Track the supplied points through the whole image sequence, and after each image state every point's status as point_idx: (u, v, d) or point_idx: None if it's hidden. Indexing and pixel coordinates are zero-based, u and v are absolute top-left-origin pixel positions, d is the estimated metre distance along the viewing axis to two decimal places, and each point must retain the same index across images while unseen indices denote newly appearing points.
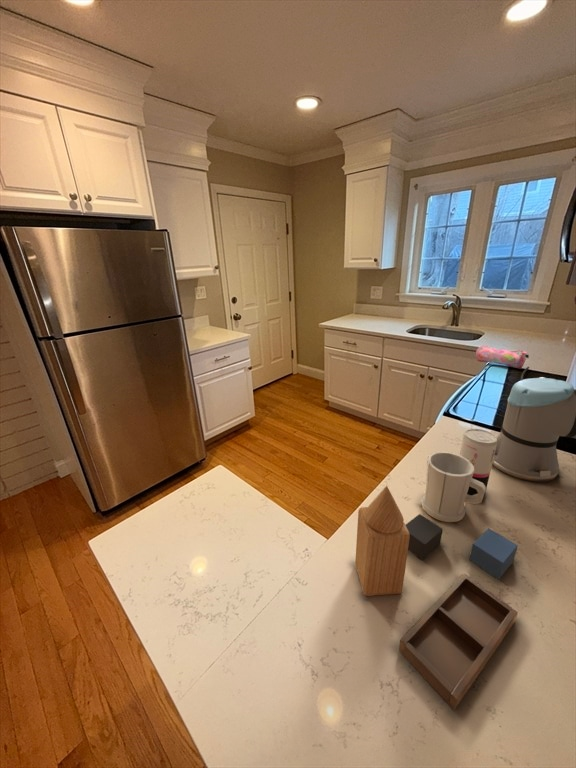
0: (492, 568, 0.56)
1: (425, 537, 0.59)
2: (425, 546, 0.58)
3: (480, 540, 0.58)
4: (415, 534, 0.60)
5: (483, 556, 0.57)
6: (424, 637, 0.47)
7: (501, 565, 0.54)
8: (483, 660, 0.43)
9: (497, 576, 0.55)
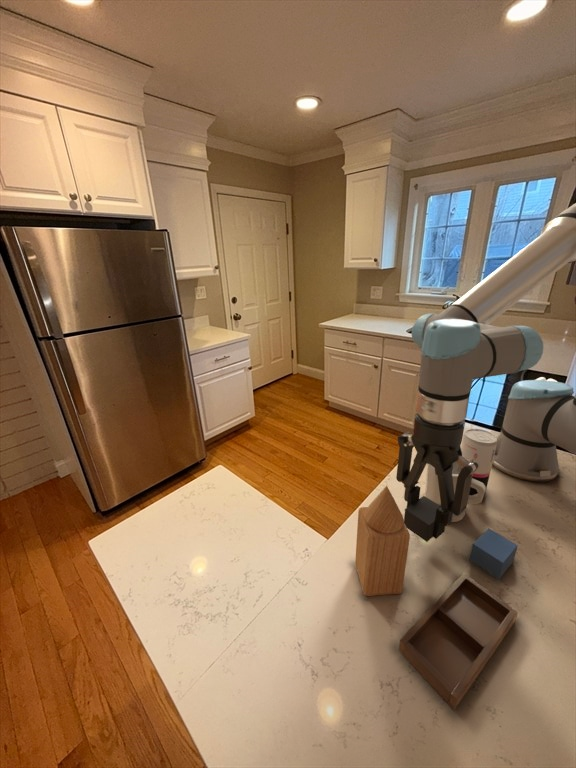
0: (492, 568, 0.56)
1: (429, 518, 0.58)
2: (429, 527, 0.56)
3: (480, 540, 0.58)
4: (419, 515, 0.58)
5: (483, 556, 0.57)
6: (424, 637, 0.47)
7: (501, 565, 0.54)
8: (483, 660, 0.43)
9: (497, 576, 0.55)
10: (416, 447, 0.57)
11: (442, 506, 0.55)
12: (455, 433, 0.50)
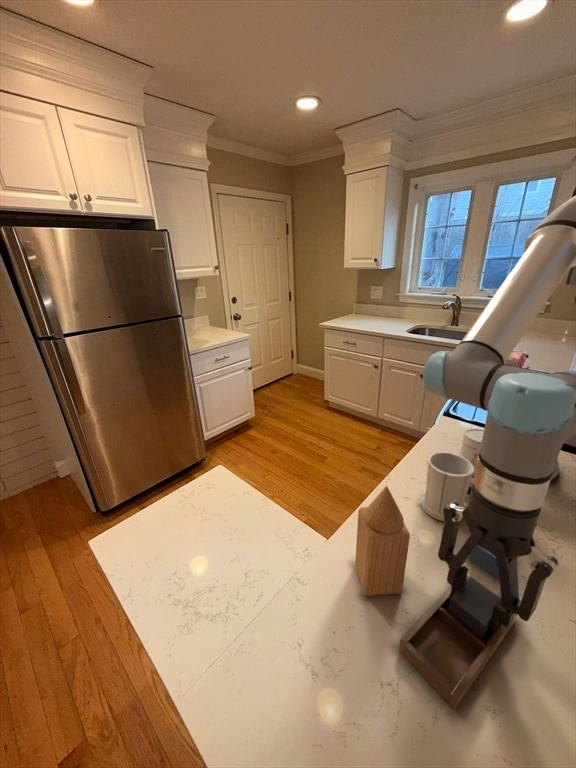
0: (492, 568, 0.56)
1: (483, 614, 0.46)
2: (484, 627, 0.45)
3: None
4: (469, 609, 0.46)
5: (483, 556, 0.57)
6: (424, 637, 0.47)
7: None
8: (483, 660, 0.43)
9: (497, 576, 0.55)
10: (469, 526, 0.45)
11: (503, 604, 0.43)
12: (531, 522, 0.38)
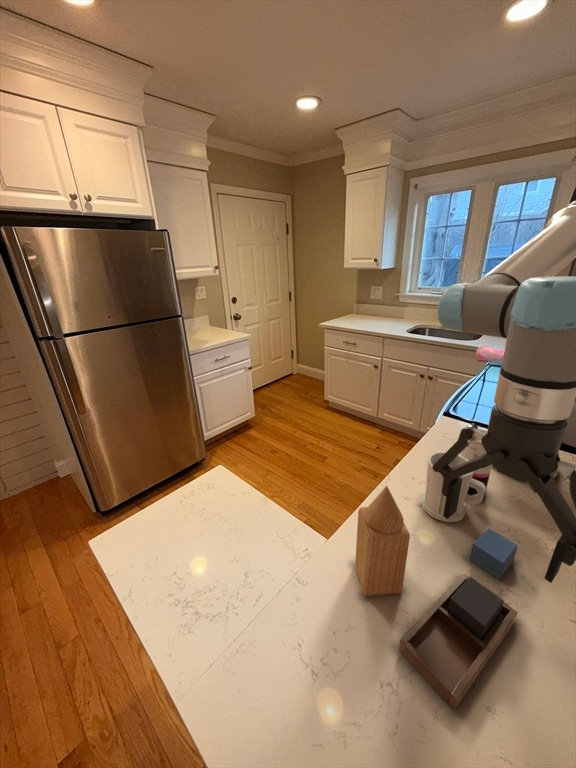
0: (492, 568, 0.56)
1: (483, 614, 0.46)
2: (484, 627, 0.45)
3: (480, 540, 0.58)
4: (469, 609, 0.46)
5: (483, 556, 0.57)
6: (424, 637, 0.47)
7: (501, 565, 0.54)
8: (483, 660, 0.43)
9: (497, 576, 0.55)
10: (489, 452, 0.43)
11: (567, 539, 0.38)
12: (558, 434, 0.36)
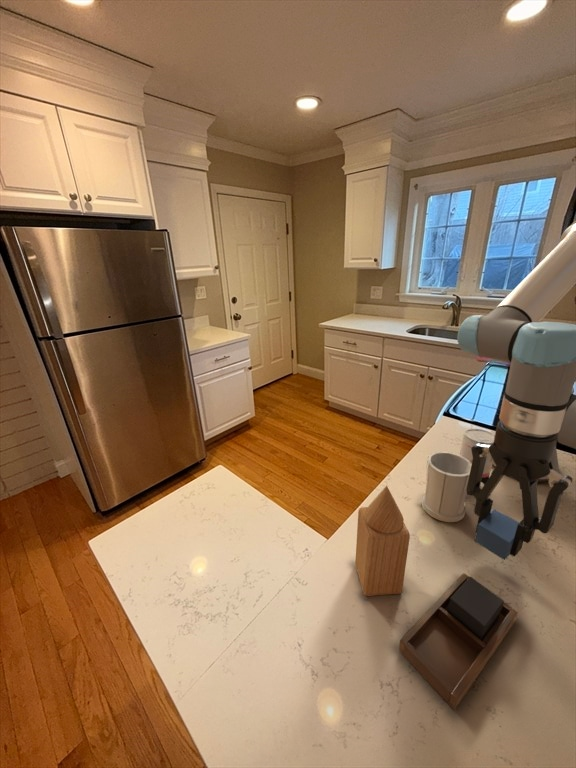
0: (499, 548, 0.54)
1: (483, 614, 0.46)
2: (484, 627, 0.45)
3: (486, 521, 0.57)
4: (469, 609, 0.46)
5: (488, 537, 0.55)
6: (424, 637, 0.47)
7: (508, 545, 0.53)
8: (483, 660, 0.43)
9: (504, 557, 0.54)
10: (495, 459, 0.53)
11: (525, 522, 0.51)
12: (550, 445, 0.46)
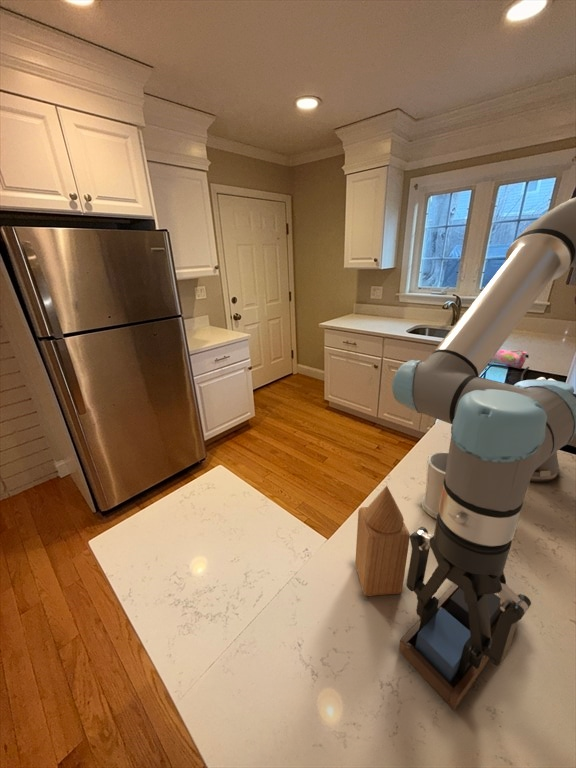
0: (441, 670, 0.42)
1: None
2: None
3: (428, 628, 0.44)
4: None
5: (429, 652, 0.43)
6: None
7: (451, 670, 0.40)
8: None
9: None
10: (436, 556, 0.41)
11: (473, 644, 0.39)
12: (499, 558, 0.34)
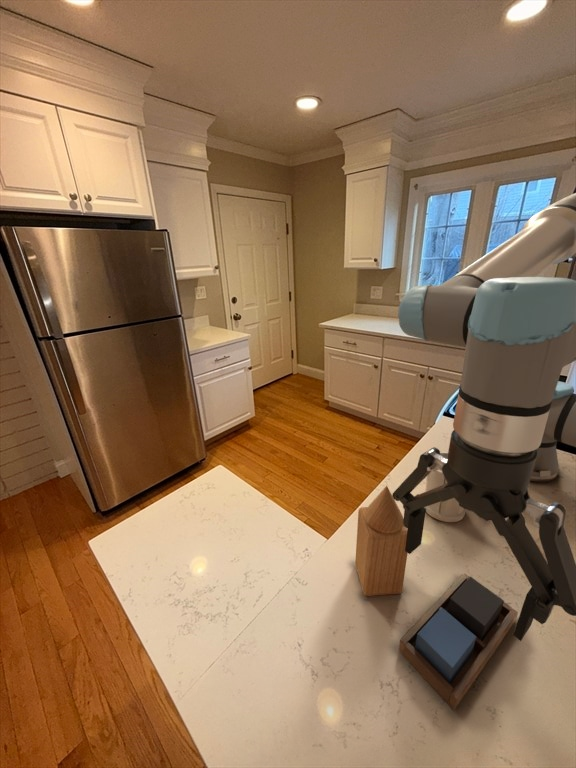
0: (441, 670, 0.42)
1: (483, 614, 0.46)
2: (484, 627, 0.45)
3: (428, 628, 0.44)
4: (469, 609, 0.46)
5: (429, 652, 0.43)
6: None
7: (451, 670, 0.40)
8: (483, 660, 0.43)
9: None
10: (450, 483, 0.37)
11: (538, 594, 0.31)
12: (524, 469, 0.30)
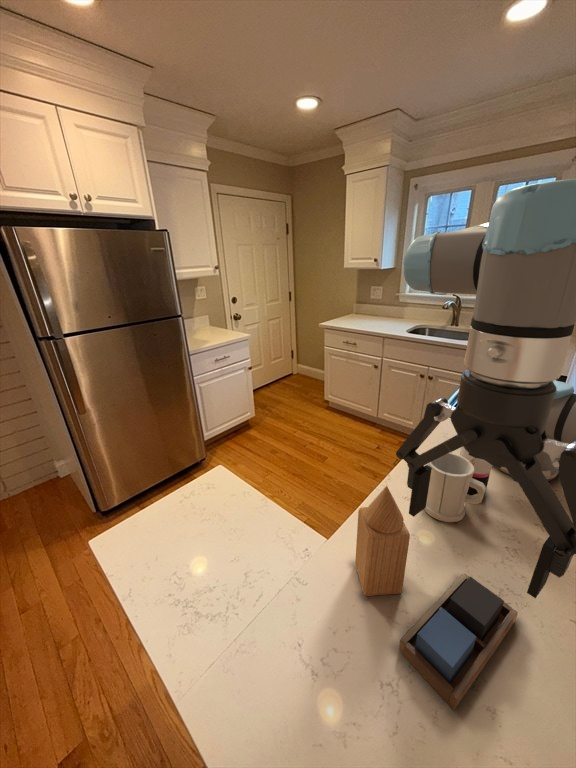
0: (441, 670, 0.42)
1: (483, 614, 0.46)
2: (484, 627, 0.45)
3: (428, 628, 0.44)
4: (469, 609, 0.46)
5: (429, 652, 0.43)
6: None
7: (451, 670, 0.40)
8: (483, 660, 0.43)
9: None
10: (459, 431, 0.34)
11: (556, 542, 0.29)
12: (543, 402, 0.27)
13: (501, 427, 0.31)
